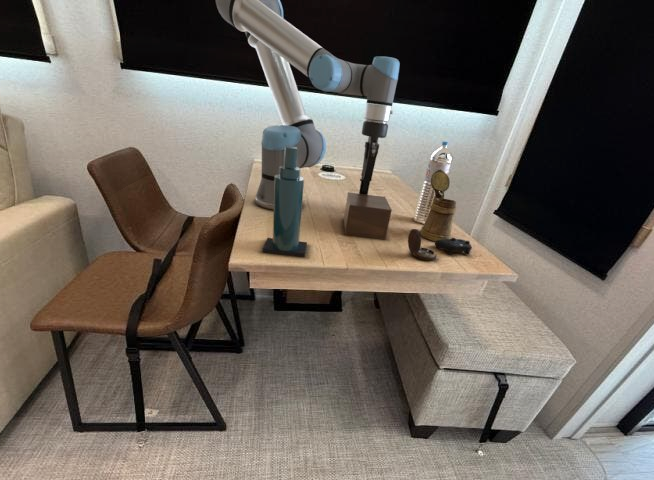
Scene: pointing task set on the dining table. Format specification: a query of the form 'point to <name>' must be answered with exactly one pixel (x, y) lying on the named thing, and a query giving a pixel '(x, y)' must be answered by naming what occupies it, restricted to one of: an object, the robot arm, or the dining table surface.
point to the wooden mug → (439, 210)
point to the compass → (419, 246)
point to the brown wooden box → (366, 216)
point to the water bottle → (436, 162)
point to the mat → (298, 252)
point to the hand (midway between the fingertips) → (362, 200)
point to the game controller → (454, 245)
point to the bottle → (287, 203)
